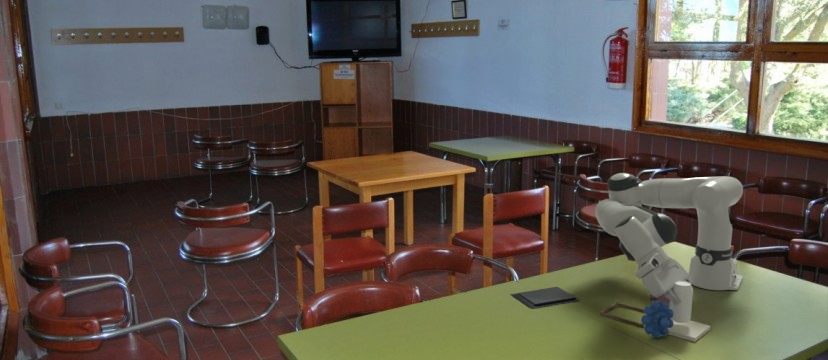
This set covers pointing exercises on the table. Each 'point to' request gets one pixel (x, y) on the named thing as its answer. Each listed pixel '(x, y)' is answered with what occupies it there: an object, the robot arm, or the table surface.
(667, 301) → the video game controller
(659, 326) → the grapes
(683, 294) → the beverage can
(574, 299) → the dark grey flat block
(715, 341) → the table surface
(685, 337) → the brown bars cream slab
